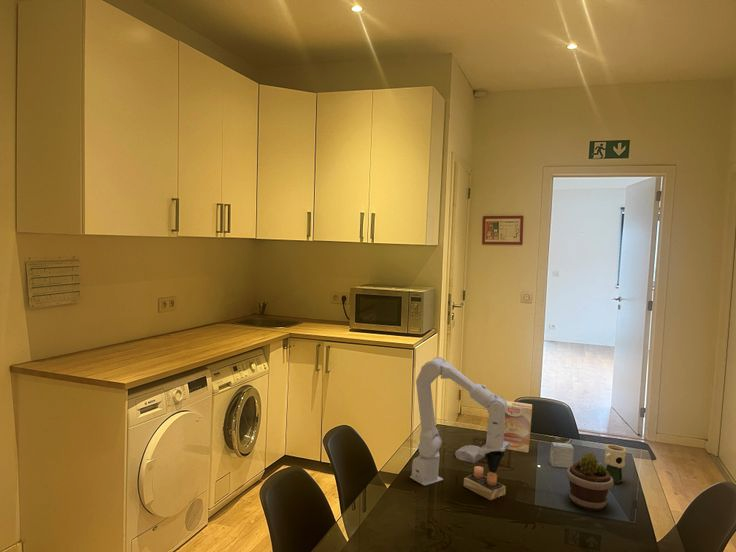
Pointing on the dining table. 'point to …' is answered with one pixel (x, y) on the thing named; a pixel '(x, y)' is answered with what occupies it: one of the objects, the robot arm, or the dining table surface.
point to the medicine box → (561, 455)
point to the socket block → (484, 487)
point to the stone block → (469, 454)
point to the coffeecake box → (518, 425)
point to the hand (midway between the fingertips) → (492, 471)
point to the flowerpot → (589, 483)
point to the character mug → (615, 461)
